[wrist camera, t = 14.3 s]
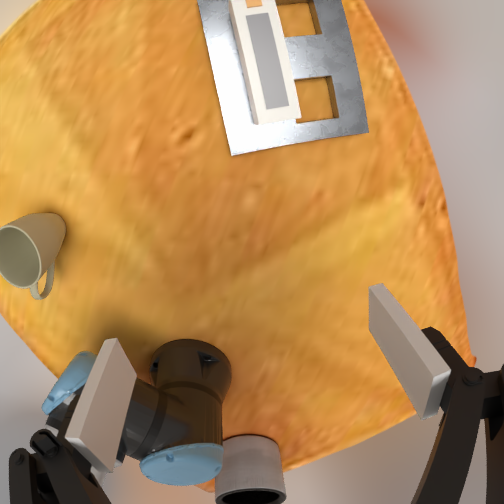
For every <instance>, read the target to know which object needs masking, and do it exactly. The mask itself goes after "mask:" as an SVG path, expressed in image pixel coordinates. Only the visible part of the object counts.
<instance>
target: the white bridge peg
mask: <svg viewBox="0 0 504 504" xmlns="http://www.w3.org/2000/svg"><path fill="white" fill-rule="evenodd" d="M229 13H230V17H231V22H232V26H233V30H234V34H235V39H236V43H237V47H238V52H239V56H240V61H241V65H242V70H243V74H244V79H245V83H246V88H247V92H248V97H249V101H250V106H251V111H252V116H253V120H254V125H262V124H267V123H273V122H278V121H284V120H290V119H296V118H301V112H300V107H299V102H298V97H297V92H296V88H295V83H294V78H293V73H292V69H291V64H290V60H289V55H288V51H287V47H286V43H285V38H284V34H283V30H282V26H281V22H280V18H279V14H278V10H277V7H276V3H275V0H229Z"/></svg>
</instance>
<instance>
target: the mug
mask: <svg viewBox="0 0 504 504" xmlns="http://www.w3.org/2000/svg"><path fill="white" fill-rule="evenodd" d="M65 234H66V225H65V223H64V221H63V219H62V218H61V217H60V216H59V215H57V214H54V213H35V214H30V215H26V216H24V217H21V218H19V219H17V220H15V221H13V222H11V223H9V224H7V225H4V226H2V227H1V228H0V274H1V275H2V277H3V278H4V279H5V280H6V281H7V282H9V283H10V284H11V285H13V286H15V287H18V288H23V289H25V288H30V292H31V295H32V297H33V298H34V299H37V300H41V299H44V298H46V297H47V296H48V295H49V293H50V291H51V289H52V285H53V279H54V266H55V259H56V257H57V255H58V253H59V251H60V248H61V245H62V242H63V240H64V237H65ZM46 270H47V279H46V285H45V288H44V291H43V292H42V293H41V294H40V295H39V292H38V281H39V279H40V278H41V277H42V275H43V274H44V273H45V272H46Z"/></svg>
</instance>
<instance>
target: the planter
mask: <svg viewBox="0 0 504 504" xmlns="http://www.w3.org/2000/svg"><path fill="white" fill-rule="evenodd" d="M223 447H224V453H223V461H222V469H221V471H220V472H219V474H218V475H217V476H216V477H215V502H216V504H281V503H282V502H284V501H285V499H286V491H285V484H284V478H283V471H282V464H281V457H280V450H279V447H278V445H277V444H276V443H275V442H274V441H272V440H270V439H268V438H265V437H261V436H255V435H244V436H237V437H233V438H230V439H227V440H225V441H223Z"/></svg>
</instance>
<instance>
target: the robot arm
mask: <svg viewBox="0 0 504 504" xmlns="http://www.w3.org/2000/svg"><path fill="white" fill-rule="evenodd" d="M369 330H370V332H371V334H372V335H373V337H374V339H375V340H376V342H377V344H378V345H379V347H380V349H381V350H382V352H383V354H384V356H385V357H386V359H387V361H388V362H389V364H390V366H391V367H392V369H393V371H394V373H395V374H396V376H397V378H398V380H399V381H400V383H401V385H402V387H403V388H404V390H405V392H406V394H407V395H408V397H409V399H410V401H411V403H412V404H413V406H414V408H415V410H416V412H417V414H418V415H419V417H420V419H421V420H424V419H427V418H429V417H431V416H434V415H436V414H437V413H438V410H439V407H441V408H442V410H443V411H444V414H443V416H442V419H441V422H440V424H439V426H440V427H439V430H438V433H437V437H436V440H435V443H434V446H433V449H432V452H431V454H430V457H429V461H428V463H427V465H426V468H425V471H424V473H423V476H422V478H421V481H420V483H419V486H418V489H417V491H416V493H415V495H414V497H413V500H412V502H411V504H458V502H459V499H460V497H461V493H462V490H463V487H464V484H465V481H466V477H467V474H468V471H469V467H470V463H471V459H472V455H473V451H474V447H475V443H476V438H477V433H478V429H479V424H480V419H484V421H485V434H486V454H487V492H486V493H487V494H486V504H504V364H503V366H502V368H501V370H499V371H494V372H488V373H483V372H482V371H481V370H479V369H478V368H474V367H469V366H468V365H467V364H466V363H465V362H464V360H463V359H462V358H461V357H460V355H459V354H458V353H457V352H456V350H455V349H454V348H453V347H452V346H451V344H450V343H449V342H448V341H447V340H446V338H445V337H444V336H443V335H442V333H441V332H440V331H438V330H436V329H434V328H433V327H428V328H425V329H422V330H420V329H419V327H418V326H417V325H416V323H415V322H414V321H413V320H412V318H411V317H410V316H409V315H408V314H407V312H406V311H405V310H404V309H403V307H402V306H401V305H400V304H399V303H398V301H397V300H396V299H395V298H394V296H393V295H392V294H391V293H390V292H389V291H388V289H387V288H386V287H385V286H384V285H383V283H381V284H377V285H373V286H370V287H369ZM149 374H150V380H151V384H152V385H150V384H148V383H146V382H144V381H142V380H140V379H139V378H137V374H136V372H135V371H134V369H133V367H132V365H131V363H130V362H129V360H128V358H127V356H126V354H125V352H124V350H123V348H122V347H121V345H120V343H119V341H118V339H117V338H113V339H106V340H105V341H104V343H103V345H102V347H101V349H100V352H99V354H98V356H97V355H96V354H94V353H92V352H90V351H82V352H80V353H78V354H77V355H76V356H75V357H74V359H73V360H72V361H71V362H70V364H69V365H68V366H67V368H66V369H65V371H64V372H63V373H62V375H61V376H60V378H59V379H58V381H57V382H56V384H55V385H54V387H53V389H52V390H51V392H50V393H49V395H48V397H47V398H46V400H45V401H44V403H43V405H42V410H43V411H44V413H45V414H46V415H49V417H48V419H47V422H46V424H45V429H41V430H38V431H37V432H36V433H34V435H33V436H32V438H31V440H30V447H31V448H32V449H33V450H34V451H35V452H36V453H34V454H30V453H29V452H28V451H27V450H26V449H24V448H18V449H16V450H15V451H14V452H13V453H12V454H11V456H10V458H9V490H10V504H111V502H110V501H109V499H108V497H107V496H106V494H105V493H104V491H103V489H102V486H103V483H104V480H105V477H106V474H107V472H109V473H113V469H114V468H115V467H118V466H121V465H122V463H123V460H124V457H125V455H127V456H130V457H132V458H135V459H137V460H139V461H140V464H139V465H140V468H141V472H142V473H143V474H144V475H145V476H146V477H147V478H148V479H150V480H153V481H155V482H158V483H162V484H168V485H177V486H178V485H179V486H186V485H195V484H200V483H204V482H207V481H209V480H211V479H213V478H214V477H216V476H217V475H218V474H219V472H220V471H221V469H222V461H223V453H224V447H223V432H222V403H223V400H224V398H225V396H226V394H227V391H228V389H229V387H230V384H231V366H230V363H229V361H228V359H227V357H226V356H225V355H224V354H223V353H222V352H221V351H220V350H218V349H217V348H215V347H214V346H212V345H210V344H207V343H205V342H201V341H197V340H188V339H184V340H176V341H172V342H169V343H166V344H164V345H163V346H161V347H160V348H159V349H158V350H157V351H156V352H155V353H154V355H153V357H152V360H151V364H150V369H149Z"/></svg>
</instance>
